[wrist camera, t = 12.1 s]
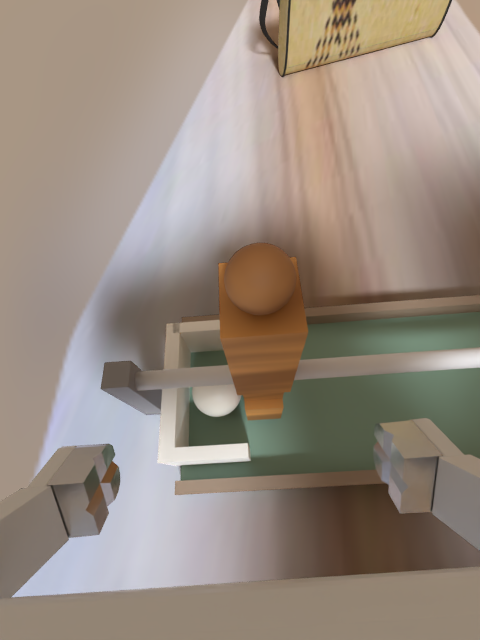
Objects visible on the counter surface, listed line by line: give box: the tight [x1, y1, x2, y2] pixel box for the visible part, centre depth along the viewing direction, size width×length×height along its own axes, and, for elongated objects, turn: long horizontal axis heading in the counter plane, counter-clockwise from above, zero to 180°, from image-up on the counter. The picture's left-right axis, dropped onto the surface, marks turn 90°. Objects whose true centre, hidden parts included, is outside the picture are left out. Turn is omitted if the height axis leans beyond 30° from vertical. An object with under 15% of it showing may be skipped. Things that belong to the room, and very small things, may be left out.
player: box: [218, 243, 308, 420], centre depth 17 cm, size 4×3×16 cm
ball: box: [192, 384, 241, 417], centre depth 23 cm, size 4×4×4 cm
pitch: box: [101, 295, 480, 495], centre depth 21 cm, size 13×38×8 cm, turn 93°
